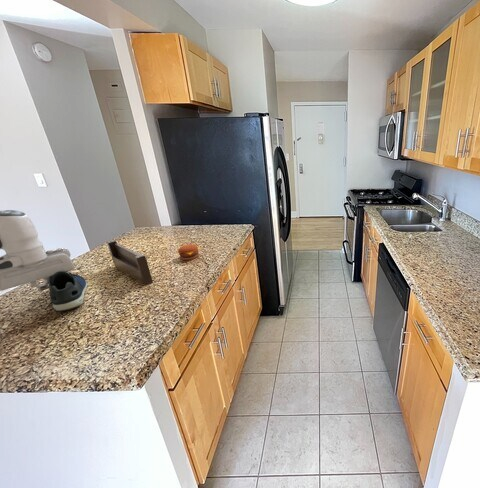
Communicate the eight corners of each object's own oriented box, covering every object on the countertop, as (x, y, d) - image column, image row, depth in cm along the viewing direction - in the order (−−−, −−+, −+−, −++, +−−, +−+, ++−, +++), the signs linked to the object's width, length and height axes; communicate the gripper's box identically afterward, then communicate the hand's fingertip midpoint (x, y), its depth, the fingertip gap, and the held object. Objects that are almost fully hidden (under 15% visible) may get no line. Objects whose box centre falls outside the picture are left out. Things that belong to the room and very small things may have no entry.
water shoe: (85, 278, 117) (78, 254, 113) (94, 306, 98) (86, 278, 94) (51, 285, 109) (43, 260, 105) (54, 317, 90) (45, 287, 87)
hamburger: (187, 252, 143) (185, 241, 140) (203, 254, 141) (201, 242, 139) (175, 260, 134) (172, 248, 132) (192, 261, 132) (189, 249, 130)
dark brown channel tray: (145, 285, 111) (136, 258, 106) (115, 266, 128) (106, 242, 123) (153, 282, 113) (145, 255, 108) (122, 264, 130) (114, 240, 125)
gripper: (64, 244, 101) (77, 275, 106) (-18, 263, 85) (1, 299, 91) (69, 248, 98) (82, 280, 103) (-16, 268, 82) (4, 305, 87)
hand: (44, 289), depth 97 cm, fingers closed
